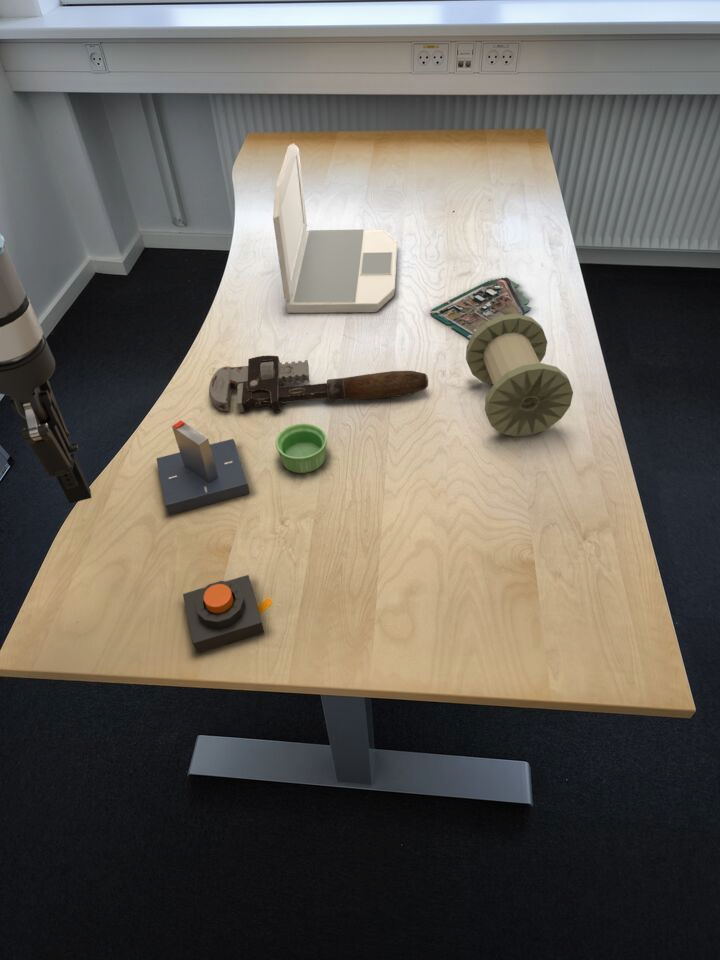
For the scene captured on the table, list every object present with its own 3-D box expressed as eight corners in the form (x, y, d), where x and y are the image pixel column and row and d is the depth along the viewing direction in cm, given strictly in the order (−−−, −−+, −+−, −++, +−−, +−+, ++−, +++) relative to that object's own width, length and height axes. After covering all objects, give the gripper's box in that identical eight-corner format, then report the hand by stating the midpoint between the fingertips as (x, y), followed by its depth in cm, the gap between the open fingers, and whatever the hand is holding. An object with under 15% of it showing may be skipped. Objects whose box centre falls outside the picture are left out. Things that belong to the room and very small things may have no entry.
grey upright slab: (218, 476, 126) (207, 436, 119) (209, 482, 125) (198, 443, 118) (192, 458, 129) (180, 419, 122) (183, 464, 128) (171, 425, 121)
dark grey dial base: (169, 515, 123) (165, 504, 122) (159, 467, 131) (156, 457, 130) (249, 493, 126) (247, 482, 124) (235, 448, 134) (233, 437, 132)
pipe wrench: (210, 422, 141) (203, 405, 137) (213, 374, 149) (208, 356, 145) (430, 401, 141) (430, 383, 137) (422, 354, 148) (422, 336, 144)
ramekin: (276, 445, 134) (273, 427, 131) (324, 437, 135) (322, 419, 132) (281, 479, 128) (278, 462, 125) (332, 471, 129) (330, 453, 126)
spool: (565, 430, 133) (579, 364, 122) (484, 440, 132) (490, 374, 121) (538, 375, 144) (549, 309, 134) (464, 383, 144) (468, 319, 133)
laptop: (394, 312, 162) (392, 196, 143) (286, 313, 164) (269, 199, 144) (398, 237, 185) (396, 129, 166) (303, 239, 187) (290, 132, 167)
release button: (208, 617, 104) (205, 610, 103) (203, 595, 107) (201, 588, 105) (235, 609, 105) (233, 602, 104) (230, 587, 107) (228, 580, 106)
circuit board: (500, 275, 170) (500, 271, 169) (548, 302, 162) (549, 298, 161) (427, 311, 161) (427, 307, 160) (474, 341, 153) (474, 338, 152)
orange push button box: (196, 653, 105) (189, 636, 102) (186, 603, 111) (180, 586, 108) (264, 632, 107) (259, 615, 103) (251, 585, 113) (246, 567, 109)
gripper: (-28, 320, 80) (48, 470, 97) (-33, 390, 72) (51, 542, 89) (42, 305, 82) (105, 456, 99) (45, 373, 73) (114, 525, 90)
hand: (80, 496), depth 94 cm, fingers closed
